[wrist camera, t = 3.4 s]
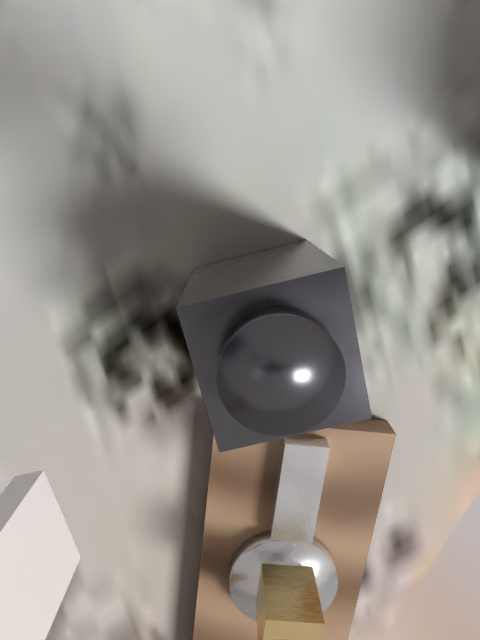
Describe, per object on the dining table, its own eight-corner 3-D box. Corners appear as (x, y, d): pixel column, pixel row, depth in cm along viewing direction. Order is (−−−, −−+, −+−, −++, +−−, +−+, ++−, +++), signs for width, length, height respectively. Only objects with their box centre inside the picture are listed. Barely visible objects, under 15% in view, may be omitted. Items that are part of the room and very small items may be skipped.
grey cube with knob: (194, 268, 23) (171, 317, 14) (307, 240, 23) (353, 272, 14) (223, 371, 25) (218, 471, 16) (328, 346, 25) (382, 435, 16)
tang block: (216, 405, 26) (211, 468, 20) (386, 420, 26) (430, 486, 20) (190, 661, 31) (180, 769, 25) (330, 670, 32) (352, 778, 26)
